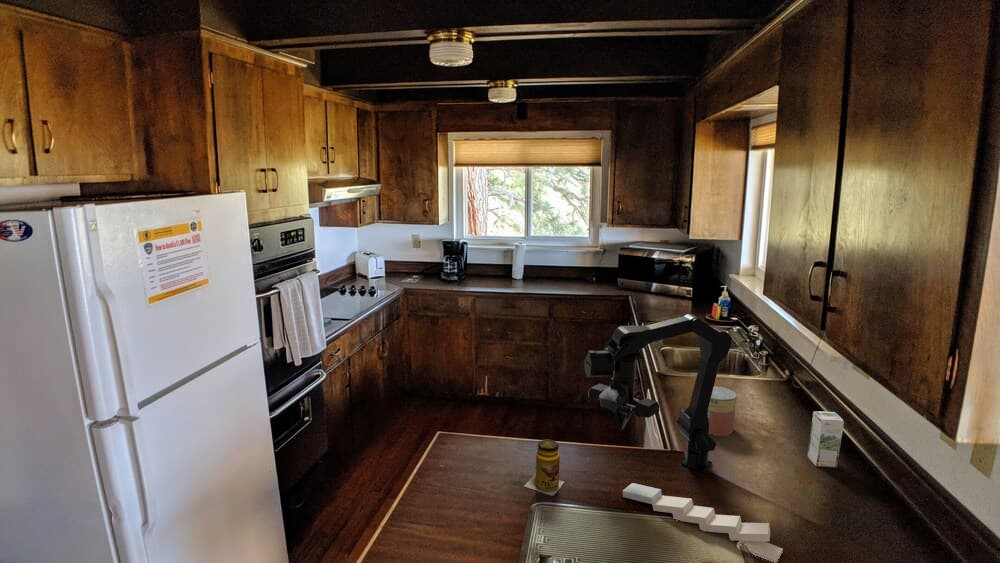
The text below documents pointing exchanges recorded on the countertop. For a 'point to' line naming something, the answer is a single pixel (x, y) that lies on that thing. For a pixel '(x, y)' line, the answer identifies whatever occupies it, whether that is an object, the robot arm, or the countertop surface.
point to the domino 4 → (723, 524)
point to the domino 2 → (672, 504)
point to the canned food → (721, 411)
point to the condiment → (546, 468)
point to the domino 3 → (696, 515)
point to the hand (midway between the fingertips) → (621, 429)
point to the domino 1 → (642, 493)
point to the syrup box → (825, 439)
